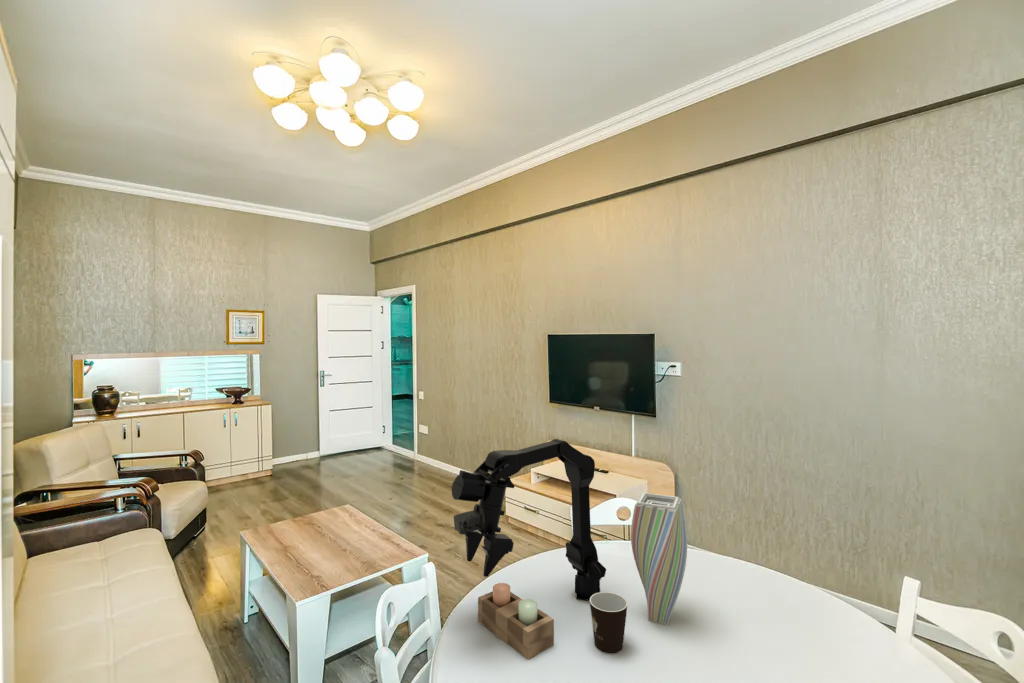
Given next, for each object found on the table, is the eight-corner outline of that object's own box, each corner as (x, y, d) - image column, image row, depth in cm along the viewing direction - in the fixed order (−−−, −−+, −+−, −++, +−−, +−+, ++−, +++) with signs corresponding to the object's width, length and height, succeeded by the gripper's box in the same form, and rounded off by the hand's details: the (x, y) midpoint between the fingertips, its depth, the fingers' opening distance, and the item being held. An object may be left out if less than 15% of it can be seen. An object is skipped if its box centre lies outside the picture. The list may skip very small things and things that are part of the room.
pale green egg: (528, 617, 113) (528, 596, 113) (541, 625, 110) (541, 604, 110) (514, 624, 110) (514, 603, 110) (527, 633, 107) (527, 611, 107)
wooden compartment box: (502, 610, 124) (502, 587, 124) (553, 644, 109) (553, 618, 109) (478, 621, 119) (478, 597, 119) (528, 659, 104) (528, 632, 104)
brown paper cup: (628, 659, 104) (628, 613, 104) (589, 654, 106) (588, 609, 106) (626, 628, 115) (626, 587, 115) (590, 624, 117) (590, 584, 117)
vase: (689, 610, 123) (688, 495, 124) (685, 639, 111) (684, 511, 111) (637, 598, 129) (636, 489, 129) (627, 625, 117) (626, 504, 117)
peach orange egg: (503, 600, 121) (502, 581, 121) (513, 607, 117) (513, 587, 117) (489, 606, 118) (489, 586, 118) (500, 614, 115) (500, 593, 115)
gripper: (447, 490, 121) (432, 552, 118) (479, 511, 104) (463, 584, 102) (484, 494, 126) (471, 554, 124) (520, 515, 110) (506, 585, 108)
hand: (477, 568), depth 114 cm, fingers open, 9 cm apart
